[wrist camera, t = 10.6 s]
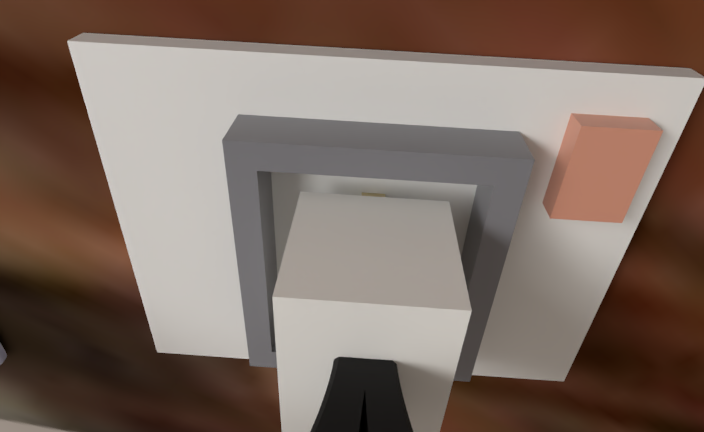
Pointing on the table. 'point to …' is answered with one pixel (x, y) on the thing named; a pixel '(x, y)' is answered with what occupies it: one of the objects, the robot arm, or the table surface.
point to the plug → (369, 300)
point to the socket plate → (377, 177)
